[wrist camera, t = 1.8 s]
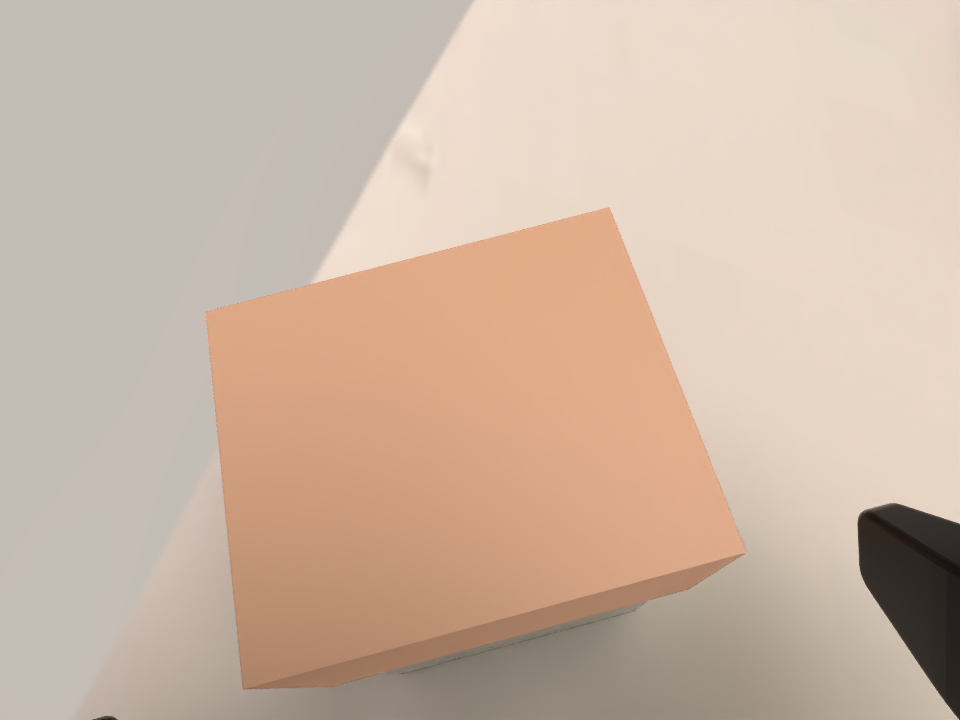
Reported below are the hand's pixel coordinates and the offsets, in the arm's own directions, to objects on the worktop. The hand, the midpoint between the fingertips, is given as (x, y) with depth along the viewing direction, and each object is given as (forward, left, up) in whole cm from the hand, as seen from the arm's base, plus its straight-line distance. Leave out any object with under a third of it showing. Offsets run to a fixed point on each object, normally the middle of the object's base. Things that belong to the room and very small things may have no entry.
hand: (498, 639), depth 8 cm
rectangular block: (+3, +1, -4) cm, 5 cm away
